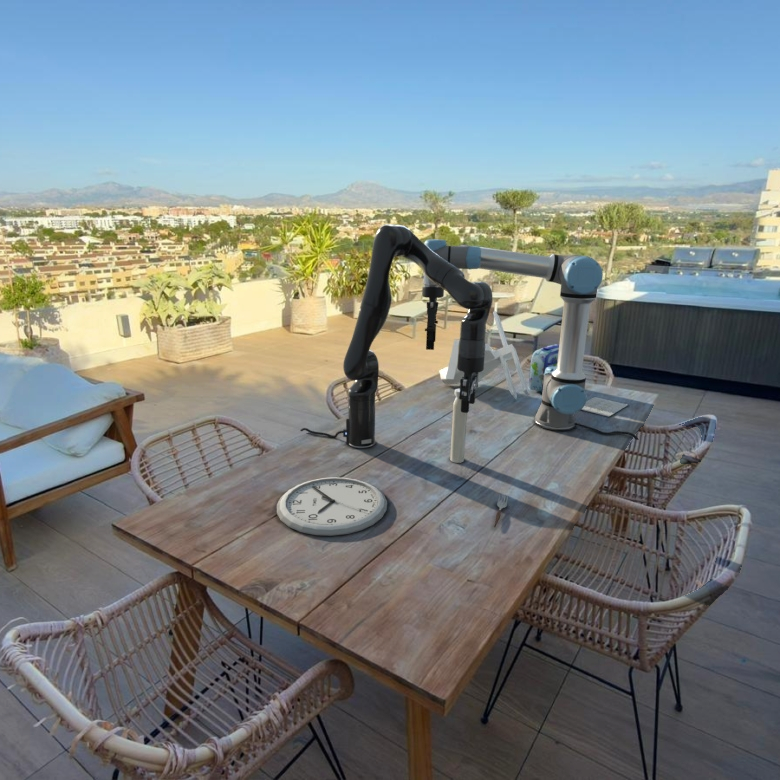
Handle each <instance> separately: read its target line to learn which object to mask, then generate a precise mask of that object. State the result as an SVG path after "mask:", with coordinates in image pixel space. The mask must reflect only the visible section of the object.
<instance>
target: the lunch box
mask: <svg viewBox="0 0 780 780" xmlns="http://www.w3.org/2000/svg"><path fill="white" fill-rule="evenodd" d="M558 353H559V344H551V345H547V346H545V347H541V348H539V349H536V350H534V352H533V353H532V355H531V358H530V359H531V360H530V366H529V377H528V379H529V380H528V387H529V390H531V391H536V392H541V393H542V392H543V382H544V373H545V369H546V368H547V367H553V366H557V362H558Z"/></svg>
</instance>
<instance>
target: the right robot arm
mask: <svg viewBox="0 0 780 780" xmlns="http://www.w3.org/2000/svg"><path fill="white" fill-rule="evenodd" d="M423 243H424V244H425V245H426V246H427V247H428V248H429V249H431V250H432V251H433V252H434V253H436V254H437V255H438V256H440V257H441V258H443V259H444V260H446V261H448V262H449V263H451V264H452V265H454V266H455V267H457V268H458V269H460V270H478V269H480V270H486V271H493V272H499V273H506V274H514V275H521V276H528V277H535V278H540V279H545V281H546V282H549V283H556V284H558V285H560V290H559V291H560V293H559V297H560V298H561V300H562V301H563V306H562V307H563V308H562V316H561V317H562V318H561V326H560V335H559V344H558V345H559V353H558V362H557V366H553V367H547V368H546V369H545V373H544V382H543V392H541V393H542V394H541V402H540V405H539V407H538V410H537V411H536V413H535V417H534V424H535V425H536V426H537V427H539V428H542V429H544V430H549V431H556V432H567V431H572V430H574V429H575V428H576V426H577V427H581V428H583V429H587V430H590V431H594V432H595V433H599V434H601V435H607V436H610V435H617V434H618V435H628V436H630V437H632V438H634V439H635V440H637V441H639V438H638V436H637V435H636V434H634V433H633V432H630V431H622V430H621V431H620V430H614V431H602V430H600V429H597V428H596V427H595V428H594V427H591V426H588V425H586V424H582V423H579V422H576V418H575V417H576V416H575V414H576V413H579V412H580V411H582V410H581V409H582V408H583V407H584V406H585V404H586V401H588V397H587V392H586V391H585V390H586V389H585V387H586V381H587V375H586V374H585V373H584V372H583V367H584V360H585V352H586V344H587V343H586V342H587V335H588V327H589V320H590V311H591V304H592V303H593V302H594V301H595V300H596V299H597V295H598V294H597V293H598V288H599V287H600V285H601V284H602V281H603V276H604V275H603V274H604V273H603V269H602V266H601V265H600V263H599V262H598V261H597V260H596V259H594V258H593V257H591V256H587V255H581V254H580V255H579V254H570V255H569V254H566V255H565V254H554V253H552V254H551V255H550V256H547V255H539V254H533V253H525V252H517V251H509V250H505V249H496V248H488V247H482V246H475V245H469V244H464V243H463V244H459V245H447V241H446V240H445V239H426V240H425V241H424V242H423ZM420 278H421V279H422V285H423V286H422V290H421V296H422V297H423V298H427V299H428V301H426V315H427V318H426V319H427V320H426V328H424V332H426V337H425V340H426V341H425V342H426V343H425V350H427V351H428V350H429V351H434V350H435V342H436V338H437V337H436V336H437V324H439V320H437V314H438V308H439V301H438V299H442V298H444V295H445V290H444V289H442V288H441V287H439V286H438V285H436V284H435V283H434V282H432V281H431V280H430V279H429V278H428V277H427V276H426V275H425V273H424V272H423V271H422V275H421V276H420Z"/></svg>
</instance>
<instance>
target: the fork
mask: <svg viewBox="0 0 780 780" xmlns="http://www.w3.org/2000/svg"><path fill="white" fill-rule="evenodd" d="M503 497H504V498H503ZM508 498H509V495H507V497H506V493H505V494H502V495H498V499H497V503H496V506H497V507H498V508H499V509H498V511H497V513H496V514H495V520H494V525H493V527H494V528H496V526H497V524H498V523H499V521H500V520H501V519H500V518H501V513H502V509H505V508H506V507H507V506H508V500H509V499H508Z"/></svg>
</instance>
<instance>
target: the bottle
mask: <svg viewBox="0 0 780 780" xmlns="http://www.w3.org/2000/svg"><path fill="white" fill-rule="evenodd" d="M452 403H453V405H452V419H451V420H452V421H451V438H450V439H451V440H450V454H449V455H450V456H449V460H450V461H451V462H452V463H456V464H461V463H464V462H465V450H466V437H467V436H466V435H467V422H468V421H467V419H468V413H463V412H461V400H460V399H459V397H458V396H455V399H454V401H453V402H452Z"/></svg>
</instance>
